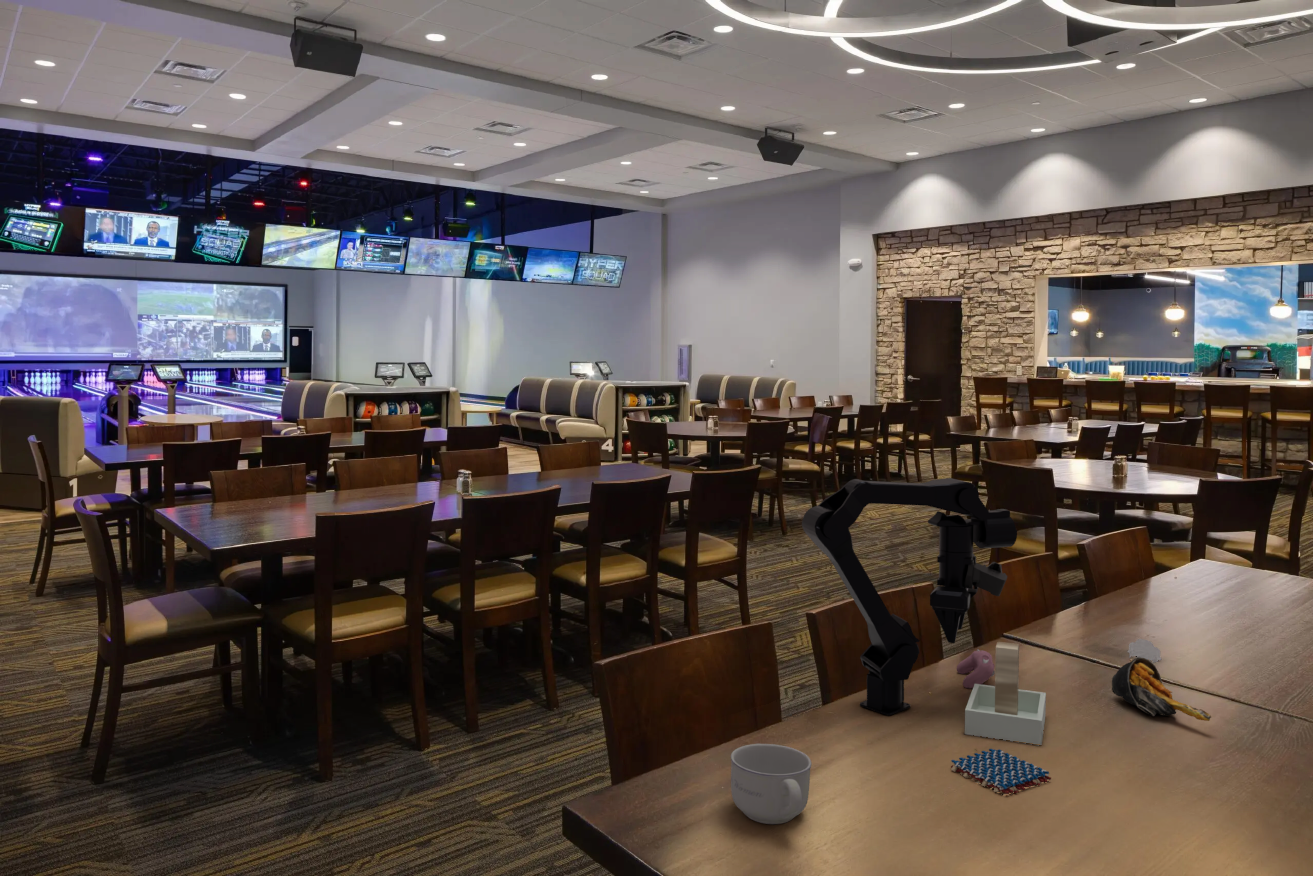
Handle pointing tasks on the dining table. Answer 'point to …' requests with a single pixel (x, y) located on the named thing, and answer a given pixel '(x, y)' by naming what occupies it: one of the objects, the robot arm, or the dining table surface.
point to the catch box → (1006, 716)
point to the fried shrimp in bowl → (1149, 690)
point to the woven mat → (1000, 771)
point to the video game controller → (976, 668)
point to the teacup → (770, 782)
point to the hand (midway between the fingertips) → (955, 635)
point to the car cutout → (1144, 650)
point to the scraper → (1006, 678)
